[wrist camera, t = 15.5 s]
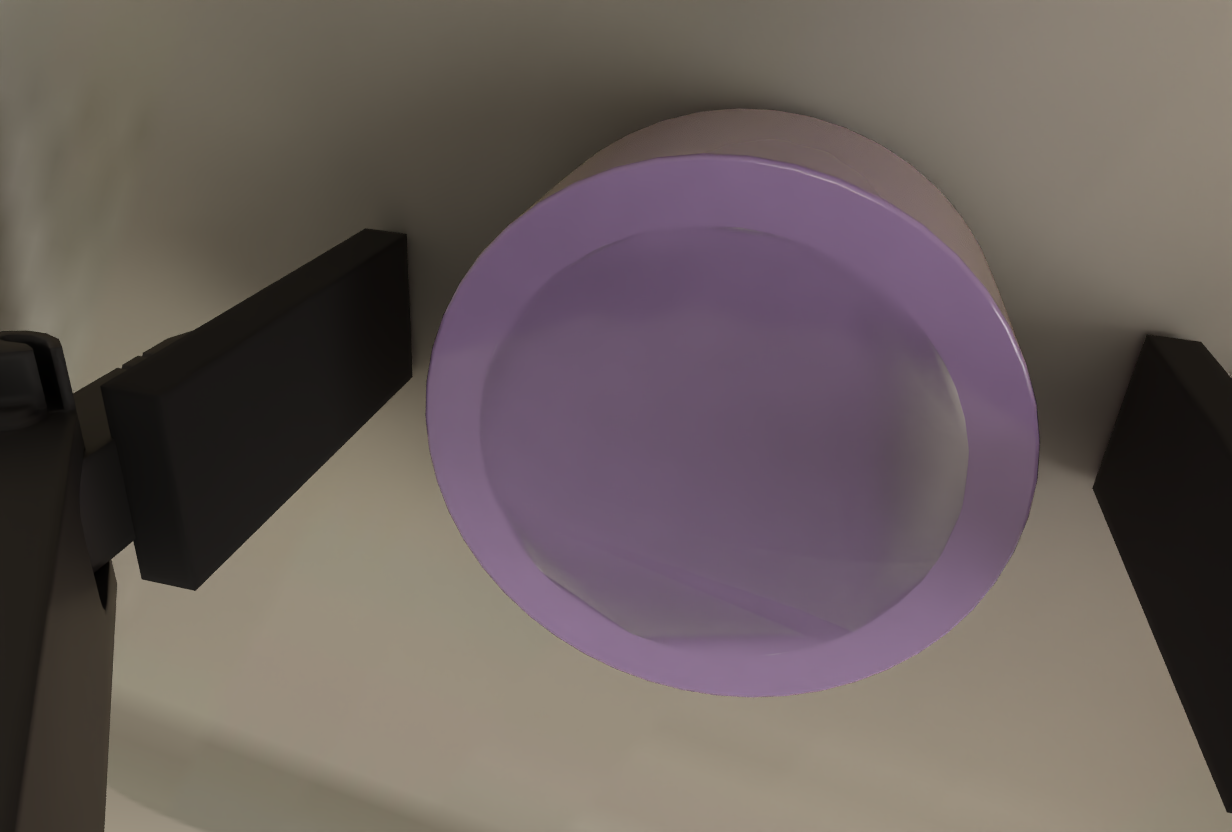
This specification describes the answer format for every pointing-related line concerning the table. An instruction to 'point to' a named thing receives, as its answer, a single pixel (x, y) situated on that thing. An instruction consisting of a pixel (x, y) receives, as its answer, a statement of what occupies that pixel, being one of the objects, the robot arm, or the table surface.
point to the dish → (737, 408)
